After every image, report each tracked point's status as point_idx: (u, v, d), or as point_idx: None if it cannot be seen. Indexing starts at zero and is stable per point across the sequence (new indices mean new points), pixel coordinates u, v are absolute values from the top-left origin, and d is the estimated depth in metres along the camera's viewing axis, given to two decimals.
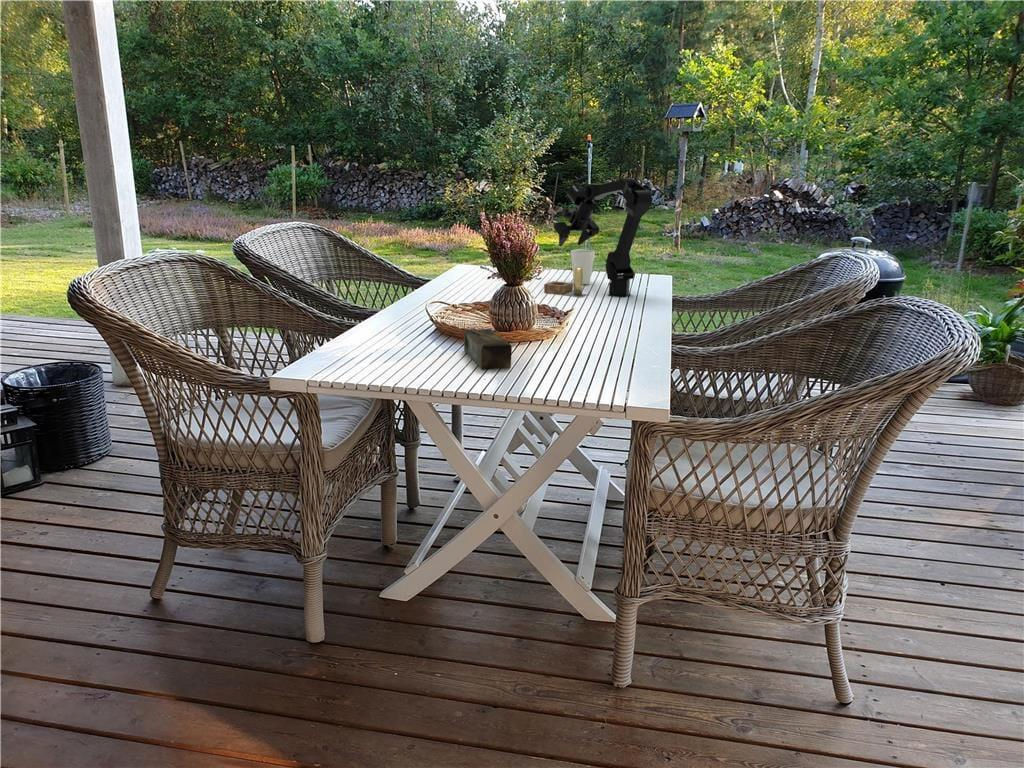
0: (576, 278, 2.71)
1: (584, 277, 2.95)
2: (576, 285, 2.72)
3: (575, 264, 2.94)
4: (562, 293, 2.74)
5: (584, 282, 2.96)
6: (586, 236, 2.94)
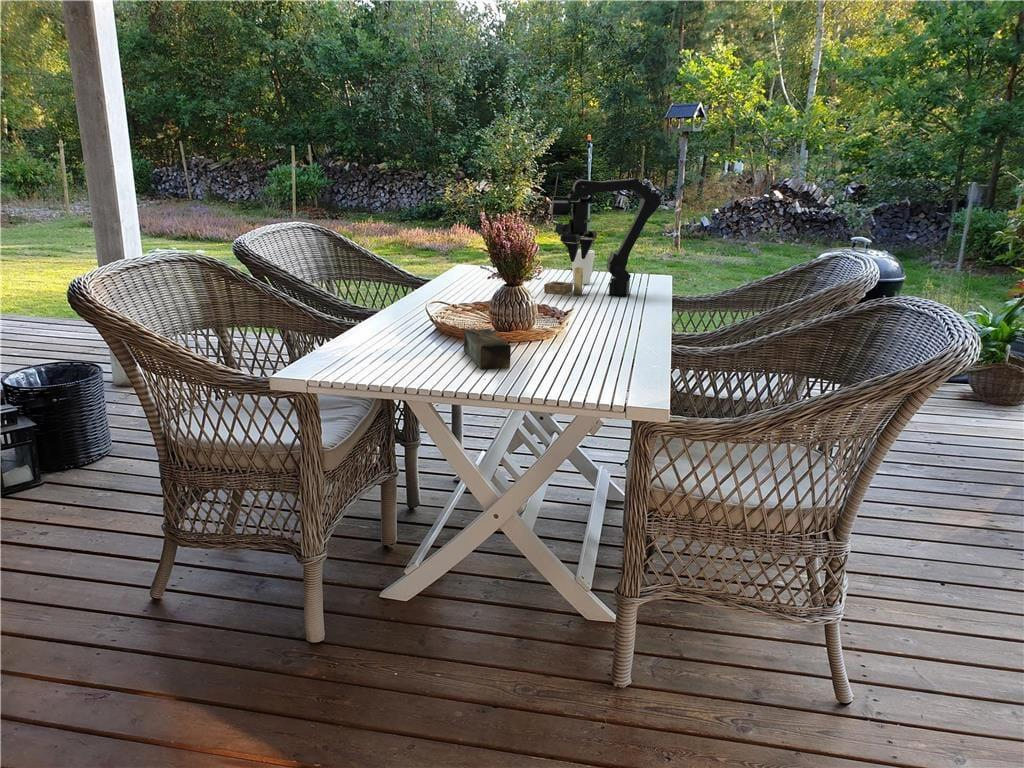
0: (576, 278, 2.71)
1: (584, 277, 2.95)
2: (576, 285, 2.72)
3: (575, 264, 2.94)
4: (562, 293, 2.74)
5: (584, 282, 2.96)
6: (588, 243, 2.73)
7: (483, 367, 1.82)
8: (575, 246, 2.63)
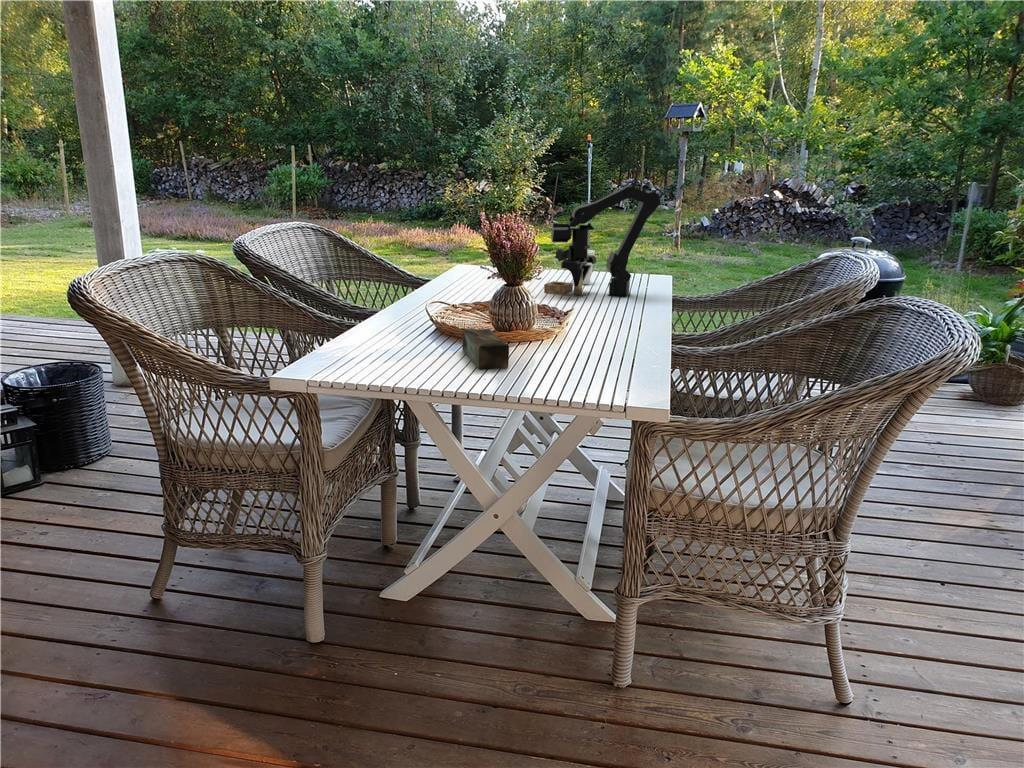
0: None
1: None
2: None
3: None
4: (562, 293, 2.74)
5: (584, 282, 2.96)
6: (585, 270, 2.73)
7: (481, 367, 1.82)
8: (579, 271, 2.68)
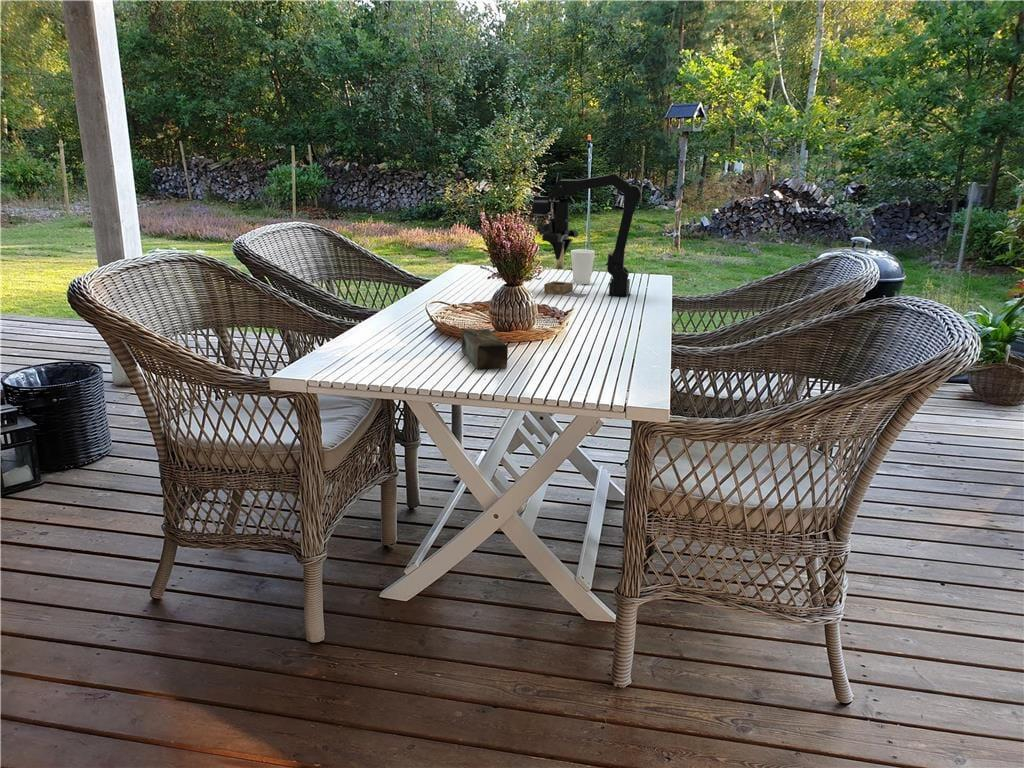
0: None
1: (584, 277, 2.95)
2: None
3: (575, 264, 2.94)
4: (562, 293, 2.74)
5: (584, 282, 2.96)
6: (566, 243, 2.75)
7: (480, 367, 1.82)
8: (560, 244, 2.70)
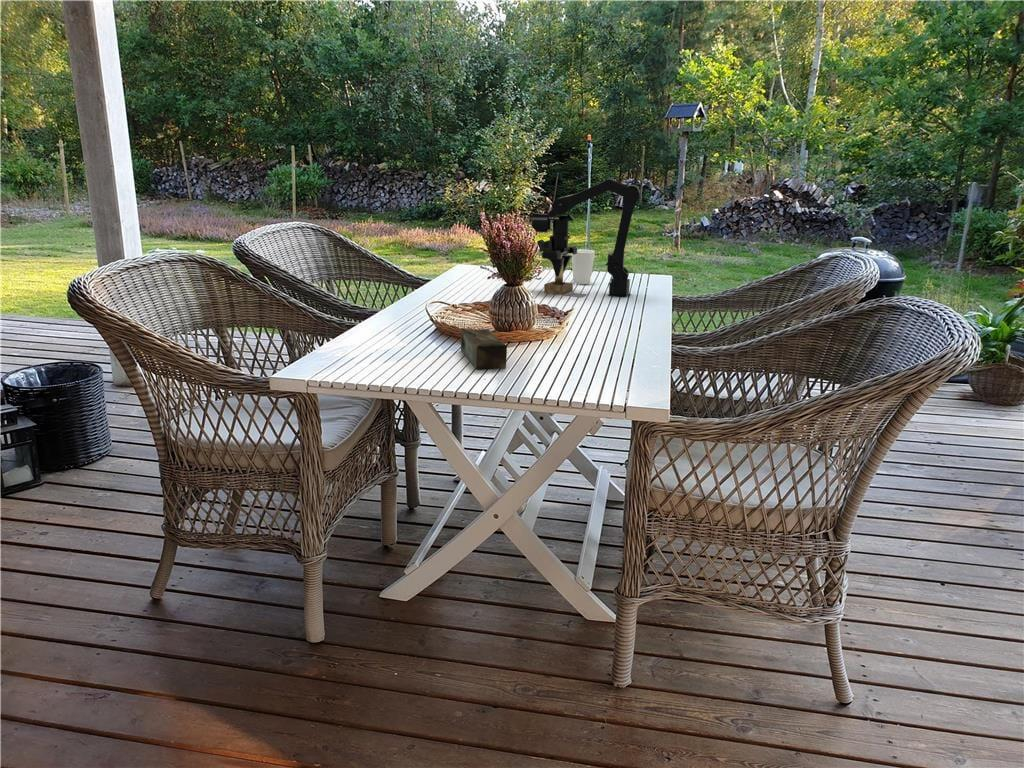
0: None
1: (584, 277, 2.95)
2: None
3: (575, 264, 2.94)
4: (562, 293, 2.74)
5: (584, 282, 2.96)
6: (566, 260, 2.77)
7: (479, 367, 1.82)
8: (560, 261, 2.72)
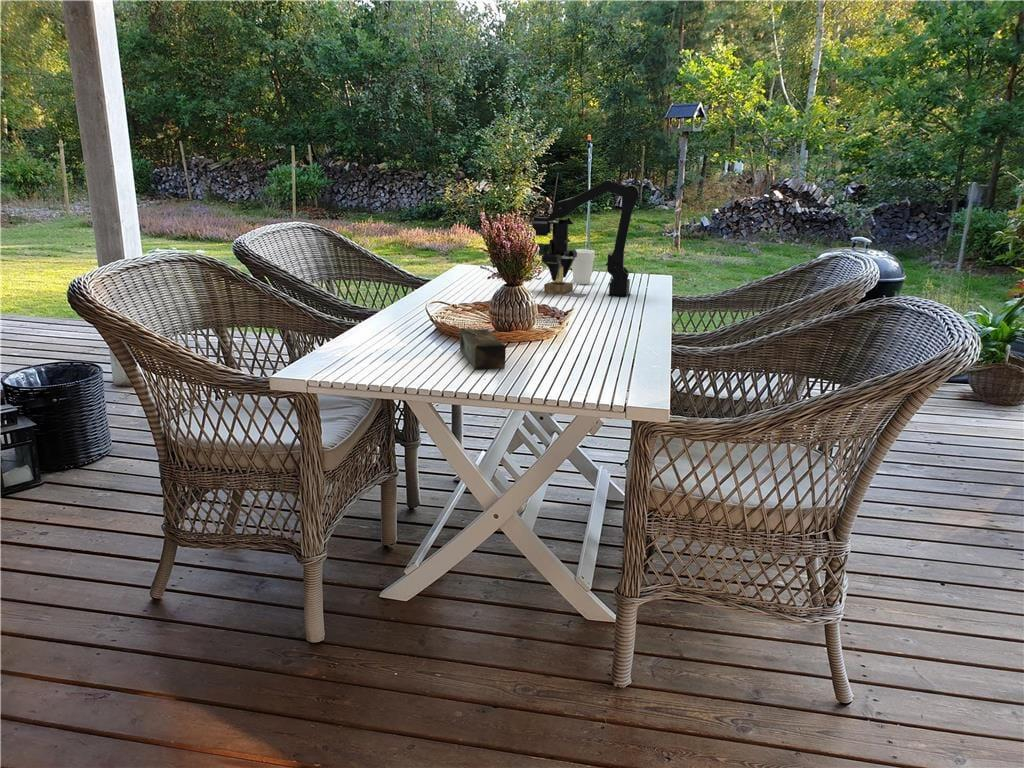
0: None
1: (584, 277, 2.95)
2: (557, 283, 2.77)
3: (575, 264, 2.94)
4: (562, 293, 2.74)
5: (584, 282, 2.96)
6: (569, 263, 2.79)
7: (478, 367, 1.82)
8: (556, 266, 2.70)
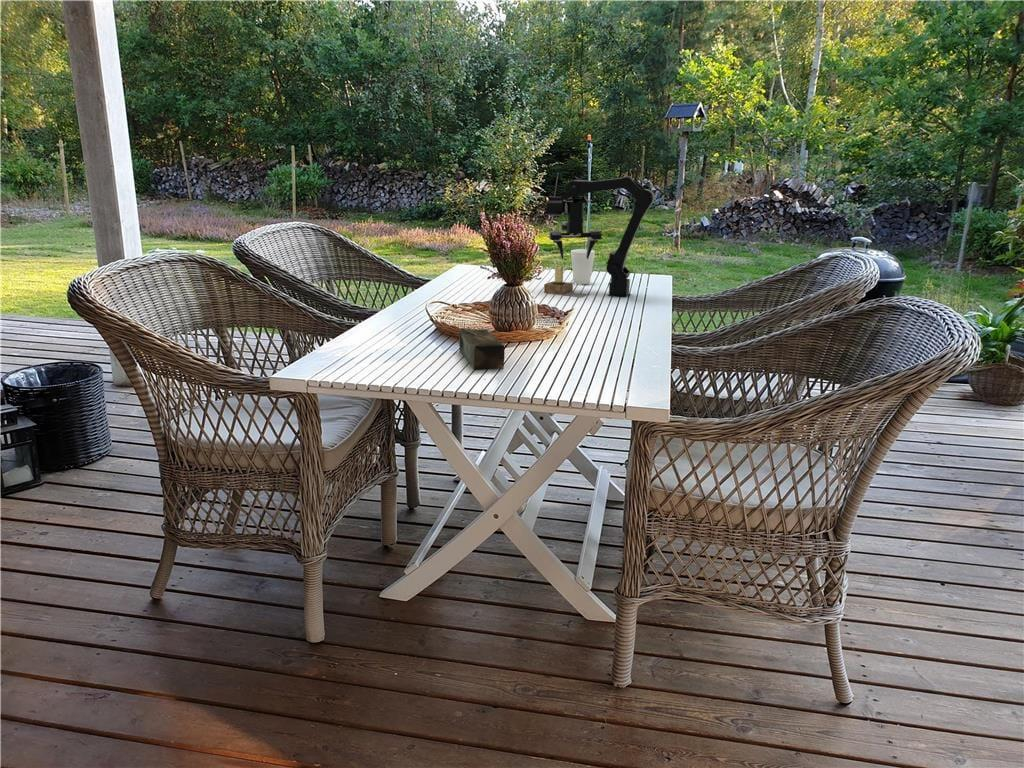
0: (556, 276, 2.76)
1: (584, 277, 2.95)
2: (557, 283, 2.77)
3: (575, 264, 2.94)
4: (562, 293, 2.74)
5: (584, 282, 2.96)
6: (589, 244, 2.73)
7: (477, 367, 1.82)
8: (558, 244, 2.73)
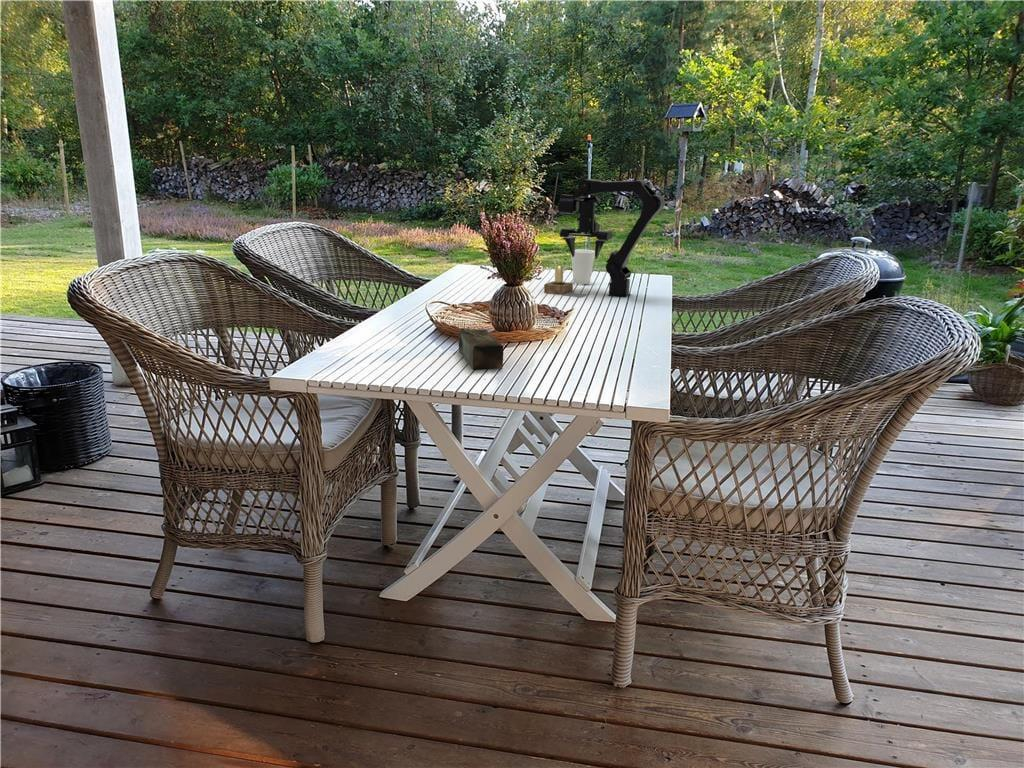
0: (556, 276, 2.76)
1: (584, 277, 2.95)
2: (557, 283, 2.77)
3: (575, 264, 2.94)
4: (562, 293, 2.74)
5: (584, 282, 2.96)
6: None
7: (475, 367, 1.82)
8: None
